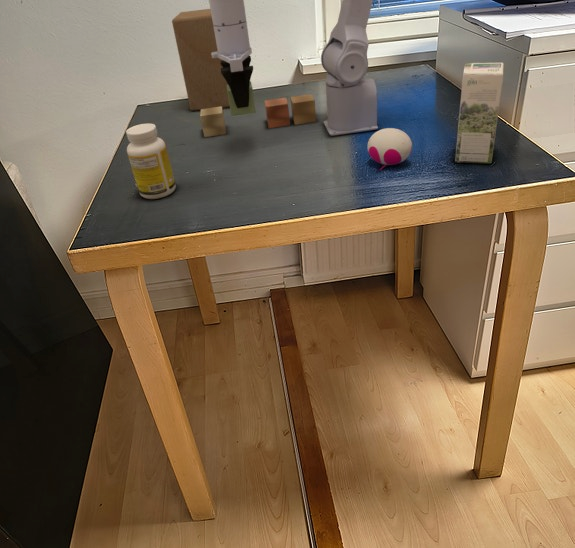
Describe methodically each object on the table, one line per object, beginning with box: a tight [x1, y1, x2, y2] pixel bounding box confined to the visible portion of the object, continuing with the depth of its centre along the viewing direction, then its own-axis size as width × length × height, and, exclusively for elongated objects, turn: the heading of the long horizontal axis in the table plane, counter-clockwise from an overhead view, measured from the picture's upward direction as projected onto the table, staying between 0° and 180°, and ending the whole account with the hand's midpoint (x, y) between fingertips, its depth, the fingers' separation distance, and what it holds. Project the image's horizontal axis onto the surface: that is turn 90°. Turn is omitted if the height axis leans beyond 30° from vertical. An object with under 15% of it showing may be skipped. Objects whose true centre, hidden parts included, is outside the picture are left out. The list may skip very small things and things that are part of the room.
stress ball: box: [366, 127, 413, 171], centre depth 86 cm, size 8×8×7 cm
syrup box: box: [454, 62, 505, 165], centre depth 82 cm, size 6×6×14 cm
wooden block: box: [171, 8, 230, 112], centre depth 121 cm, size 10×10×20 cm
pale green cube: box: [227, 80, 257, 117], centre depth 95 cm, size 4×4×4 cm
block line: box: [199, 93, 317, 138], centre depth 108 cm, size 24×4×4 cm, turn 96°
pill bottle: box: [125, 122, 177, 200], centre depth 85 cm, size 6×6×11 cm
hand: (242, 102), depth 96 cm, fingers closed on pale green cube, 4 cm apart
